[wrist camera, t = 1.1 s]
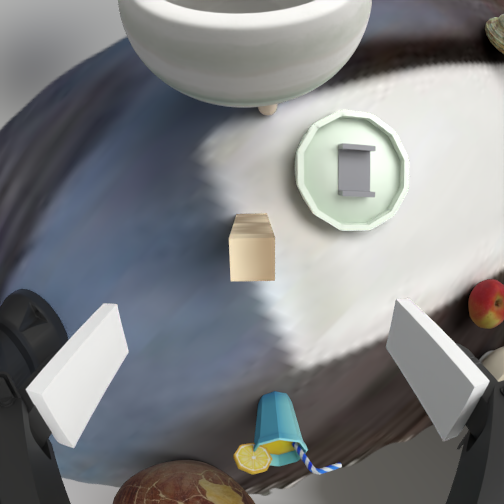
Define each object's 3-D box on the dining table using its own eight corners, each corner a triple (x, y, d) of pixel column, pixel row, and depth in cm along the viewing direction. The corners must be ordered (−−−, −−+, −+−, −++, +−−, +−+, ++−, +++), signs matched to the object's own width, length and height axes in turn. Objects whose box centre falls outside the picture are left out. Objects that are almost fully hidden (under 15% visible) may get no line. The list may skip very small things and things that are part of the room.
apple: (493, 271, 36) (523, 288, 28) (481, 314, 38) (507, 335, 31) (466, 271, 36) (497, 290, 28) (453, 317, 38) (480, 341, 31)
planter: (154, 70, 29) (49, -18, 7) (254, -3, 26) (257, -129, 4) (240, 161, 32) (219, 146, 11) (343, 81, 29) (450, -4, 8)
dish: (294, 227, 34) (297, 232, 32) (293, 109, 30) (296, 105, 28) (399, 227, 34) (408, 232, 32) (400, 120, 30) (410, 117, 28)
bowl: (451, 365, 41) (477, 397, 32) (507, 315, 39) (537, 338, 29) (460, 403, 45) (479, 430, 35) (509, 359, 43) (531, 382, 33)
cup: (324, 380, 41) (347, 455, 26) (321, 412, 43) (338, 482, 29) (234, 387, 41) (229, 467, 27) (239, 418, 43) (236, 491, 29)
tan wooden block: (237, 243, 35) (230, 281, 23) (236, 214, 34) (228, 238, 22) (267, 242, 35) (274, 280, 23) (266, 213, 34) (274, 237, 22)
